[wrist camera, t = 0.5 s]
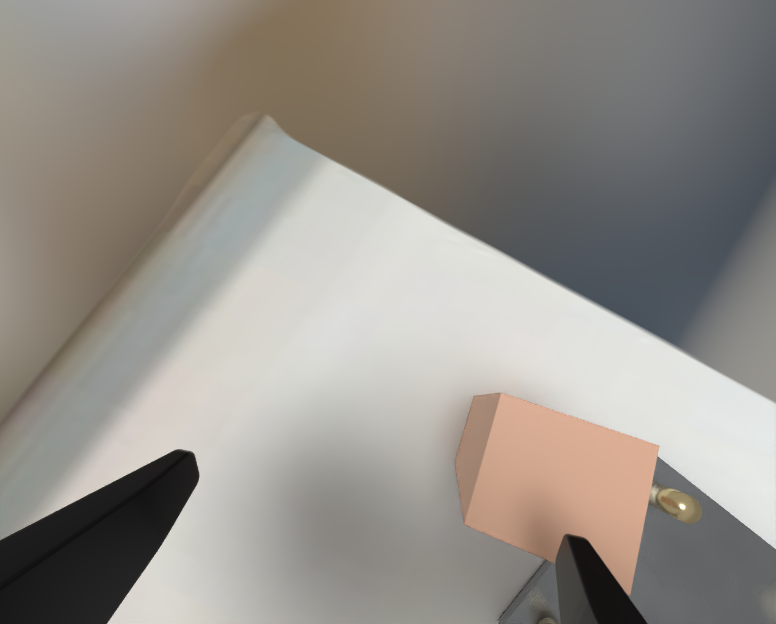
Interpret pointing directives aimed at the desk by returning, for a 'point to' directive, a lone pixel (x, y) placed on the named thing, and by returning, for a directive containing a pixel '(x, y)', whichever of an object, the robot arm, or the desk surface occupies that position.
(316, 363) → the desk surface
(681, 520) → the standoff chassis
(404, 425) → the desk surface
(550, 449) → the terracotta block
